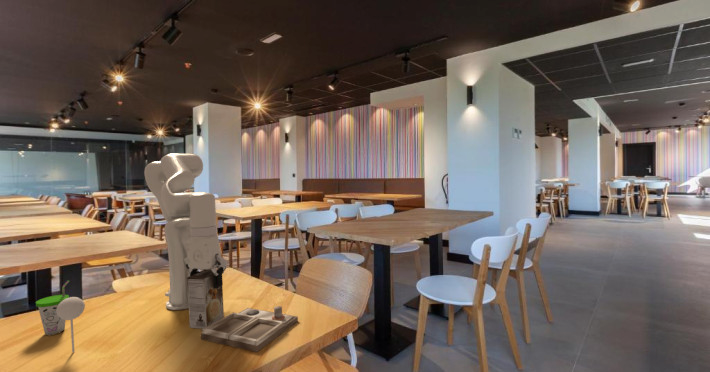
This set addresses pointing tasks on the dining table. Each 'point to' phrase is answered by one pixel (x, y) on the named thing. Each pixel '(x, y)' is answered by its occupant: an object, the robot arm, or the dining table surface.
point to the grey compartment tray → (249, 328)
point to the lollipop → (70, 311)
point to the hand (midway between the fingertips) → (206, 285)
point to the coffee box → (204, 300)
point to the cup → (52, 312)
